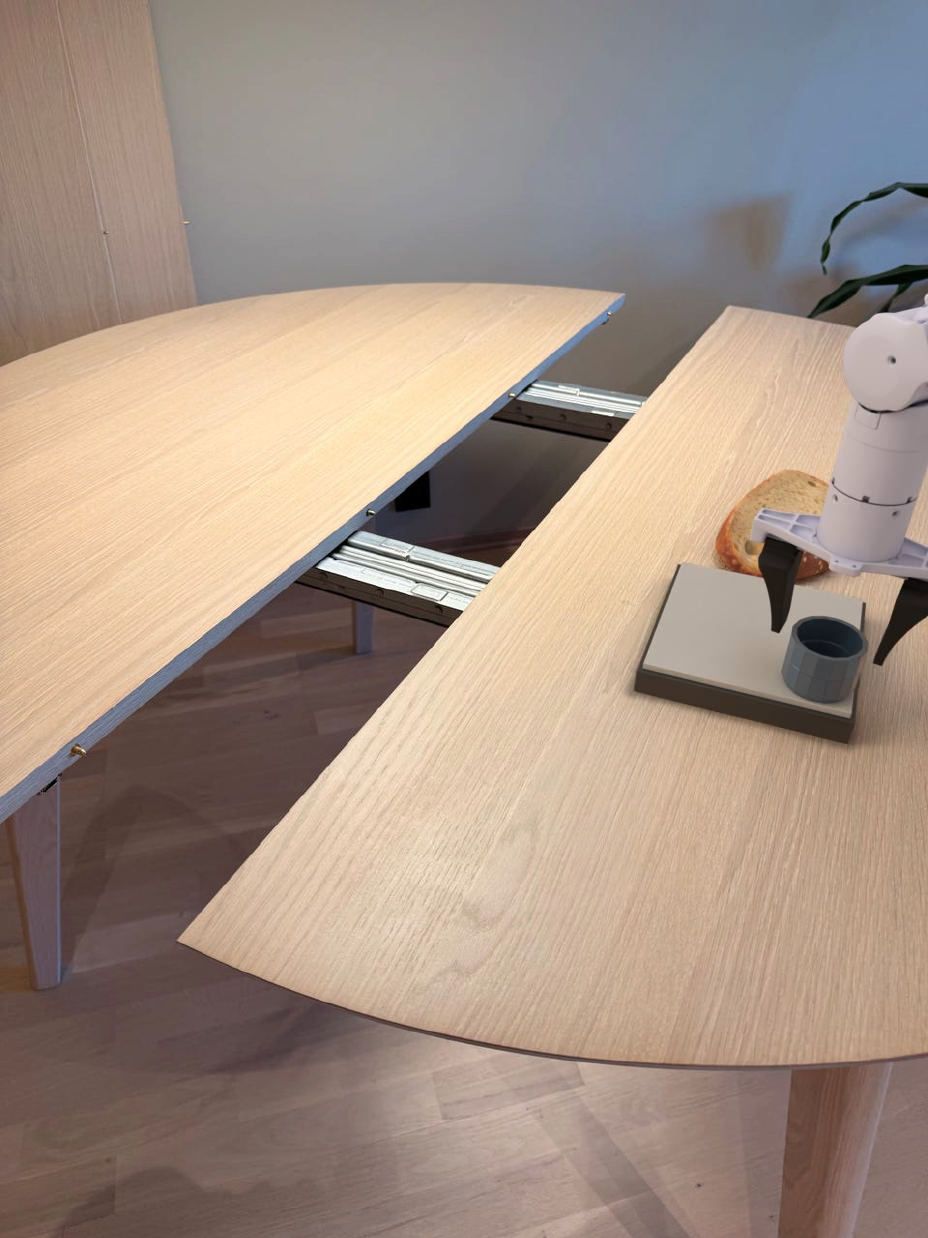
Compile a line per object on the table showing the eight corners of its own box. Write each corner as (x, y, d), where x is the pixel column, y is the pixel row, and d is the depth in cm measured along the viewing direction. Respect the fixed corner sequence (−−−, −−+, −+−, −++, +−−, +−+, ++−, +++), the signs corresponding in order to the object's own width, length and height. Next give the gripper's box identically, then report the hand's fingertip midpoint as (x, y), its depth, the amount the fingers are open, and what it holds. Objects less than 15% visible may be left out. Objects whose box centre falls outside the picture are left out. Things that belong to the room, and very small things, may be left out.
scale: (850, 744, 74) (859, 718, 72) (633, 691, 79) (637, 665, 77) (862, 622, 86) (870, 597, 85) (674, 582, 91) (678, 558, 90)
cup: (868, 694, 74) (884, 649, 72) (812, 713, 72) (825, 668, 70) (820, 652, 78) (833, 609, 76) (765, 670, 77) (776, 626, 74)
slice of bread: (808, 481, 107) (815, 451, 105) (906, 566, 94) (917, 534, 91) (662, 501, 104) (666, 471, 101) (742, 593, 90) (749, 560, 88)
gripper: (752, 482, 65) (719, 638, 73) (980, 541, 59) (917, 704, 67) (781, 442, 70) (748, 593, 78) (995, 493, 64) (935, 650, 72)
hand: (828, 641), depth 73 cm, fingers open, 7 cm apart
